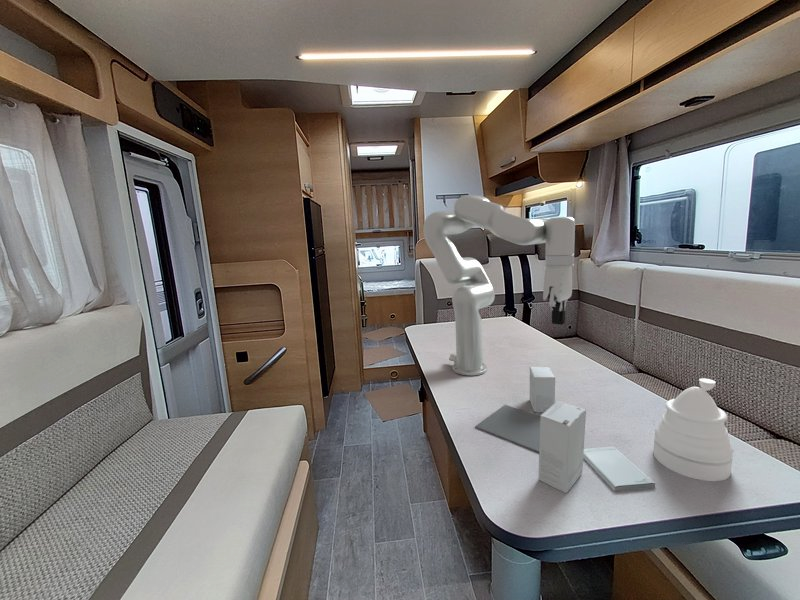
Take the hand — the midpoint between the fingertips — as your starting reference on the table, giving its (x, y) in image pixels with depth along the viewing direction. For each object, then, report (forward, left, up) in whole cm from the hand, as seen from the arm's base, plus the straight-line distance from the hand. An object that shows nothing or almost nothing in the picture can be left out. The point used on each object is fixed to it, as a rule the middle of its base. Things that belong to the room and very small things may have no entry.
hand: (558, 323), depth 106 cm
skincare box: (+16, -37, -23) cm, 46 cm away
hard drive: (+23, -27, -23) cm, 42 cm away
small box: (0, -10, -23) cm, 25 cm away
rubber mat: (+2, -24, -22) cm, 33 cm away
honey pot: (+34, -14, -23) cm, 43 cm away
